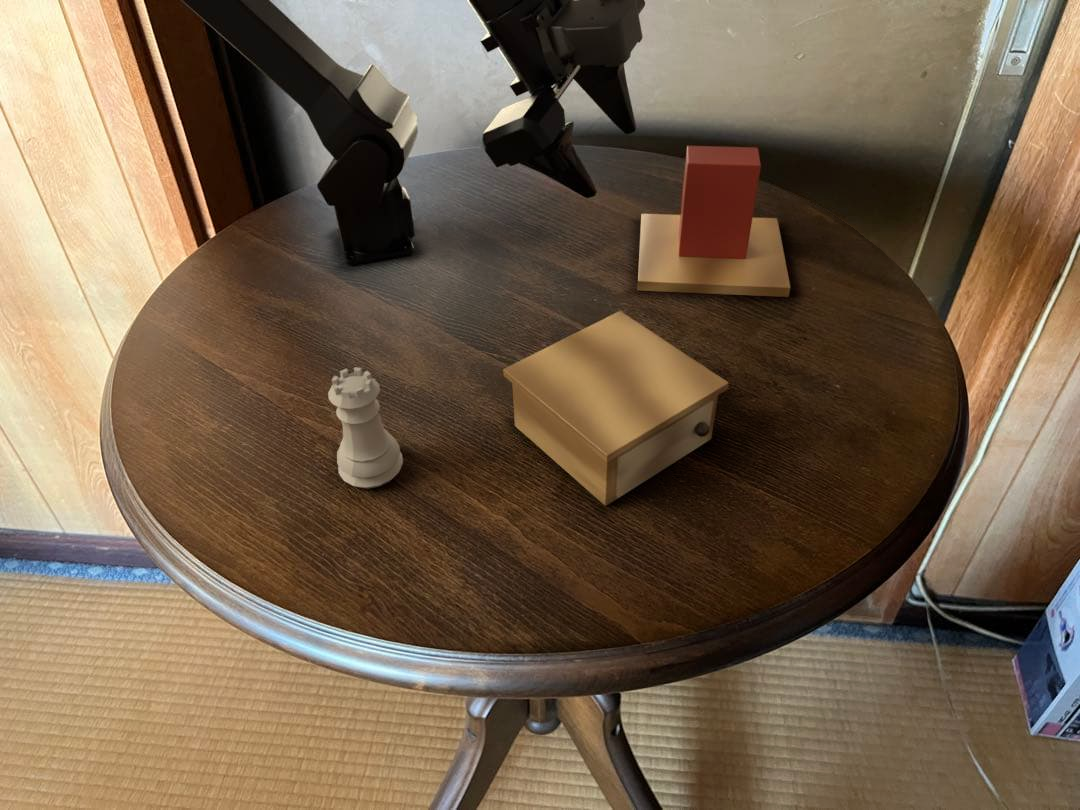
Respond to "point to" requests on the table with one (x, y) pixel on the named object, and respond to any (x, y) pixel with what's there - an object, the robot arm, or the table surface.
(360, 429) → the rook chess piece
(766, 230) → the board
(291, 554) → the table surface
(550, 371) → the cabinet
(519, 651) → the table surface
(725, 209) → the tall red upright block
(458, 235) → the table surface
